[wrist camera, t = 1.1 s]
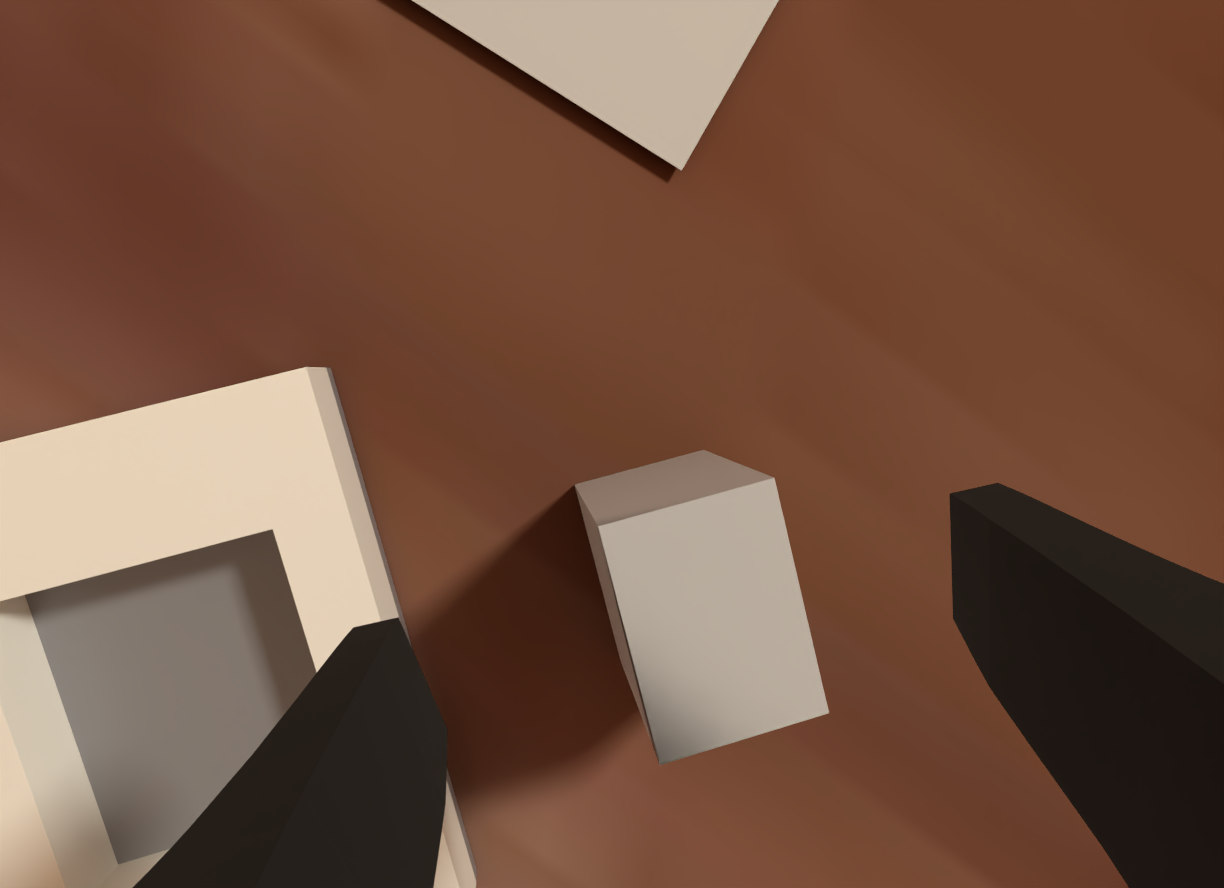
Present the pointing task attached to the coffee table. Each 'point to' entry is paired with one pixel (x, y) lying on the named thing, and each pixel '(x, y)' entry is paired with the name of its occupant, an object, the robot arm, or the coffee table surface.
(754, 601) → the plug
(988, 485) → the robot arm
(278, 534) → the faceplate
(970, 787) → the coffee table surface
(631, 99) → the paper stack
